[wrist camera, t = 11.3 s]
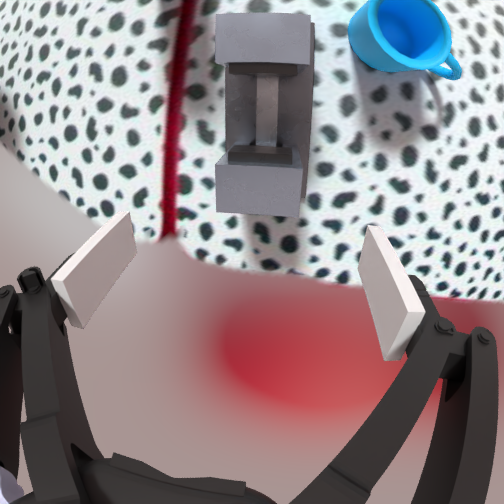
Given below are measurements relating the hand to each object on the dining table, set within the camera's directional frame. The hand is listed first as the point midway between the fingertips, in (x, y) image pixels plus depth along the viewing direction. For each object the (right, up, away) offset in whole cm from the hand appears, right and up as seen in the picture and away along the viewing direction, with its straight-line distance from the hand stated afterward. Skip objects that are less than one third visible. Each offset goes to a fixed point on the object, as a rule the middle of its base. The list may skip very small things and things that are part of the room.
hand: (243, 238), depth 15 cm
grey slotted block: (+2, +15, +13) cm, 20 cm away
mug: (+16, +21, +7) cm, 28 cm away
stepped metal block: (+2, +9, +15) cm, 18 cm away
